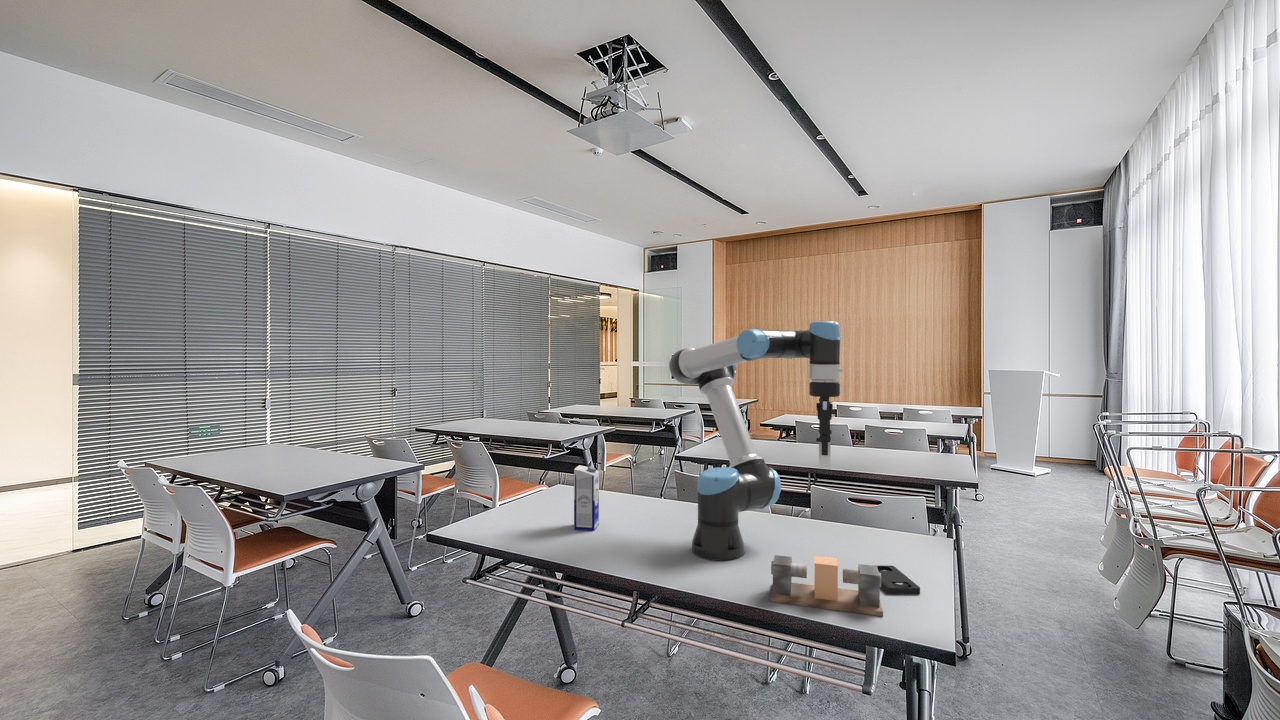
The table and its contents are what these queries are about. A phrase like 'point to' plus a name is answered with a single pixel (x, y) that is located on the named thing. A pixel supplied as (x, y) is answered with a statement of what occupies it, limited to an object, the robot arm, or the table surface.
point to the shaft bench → (848, 600)
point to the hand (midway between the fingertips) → (824, 463)
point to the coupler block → (826, 578)
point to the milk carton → (586, 498)
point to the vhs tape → (896, 581)
